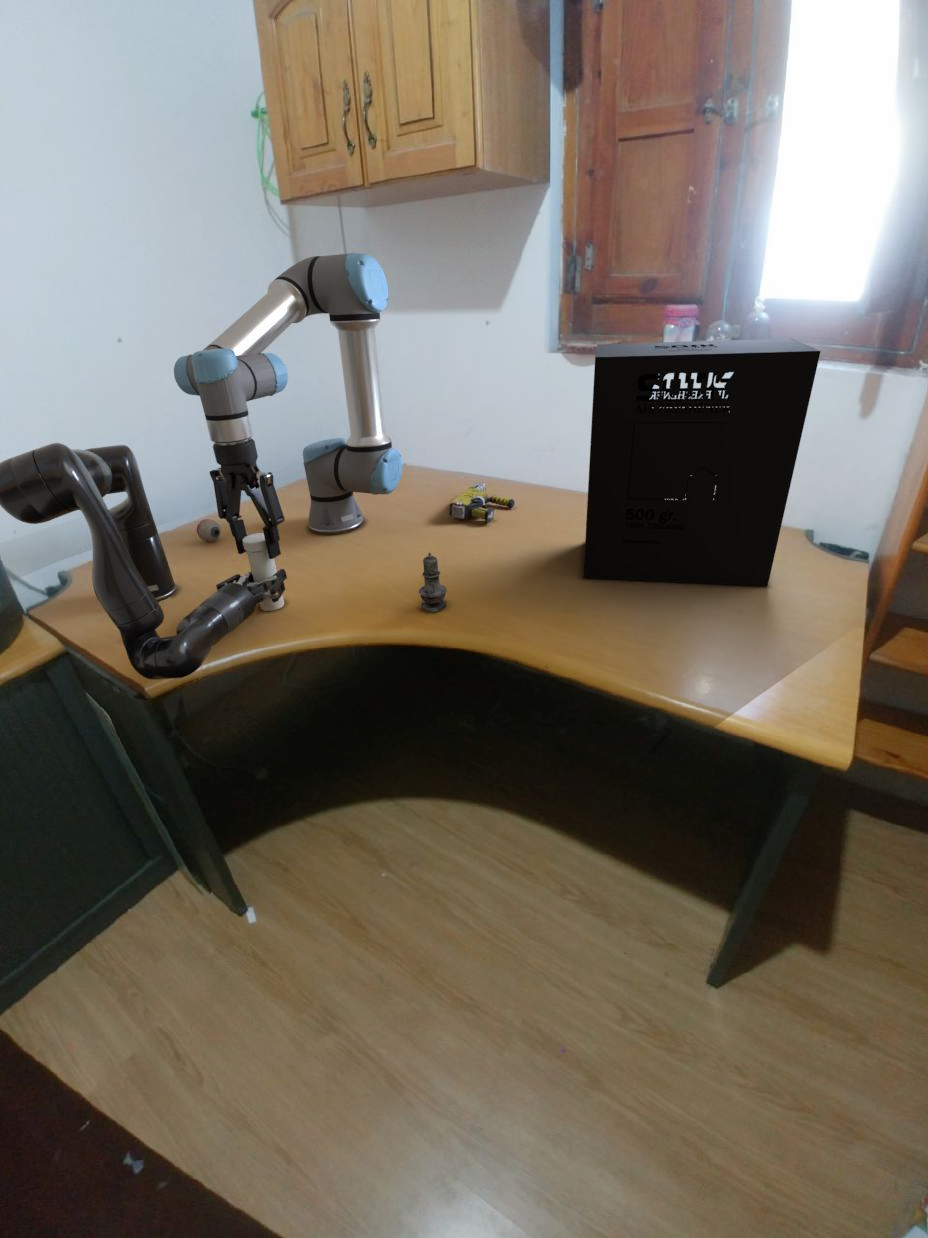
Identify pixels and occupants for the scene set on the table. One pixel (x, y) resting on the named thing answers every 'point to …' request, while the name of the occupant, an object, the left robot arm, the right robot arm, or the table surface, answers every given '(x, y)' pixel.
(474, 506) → the toy gun
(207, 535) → the eyeball
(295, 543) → the table surface
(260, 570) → the jar
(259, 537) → the lid
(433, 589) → the dark grey chess piece
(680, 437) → the cardboard box
